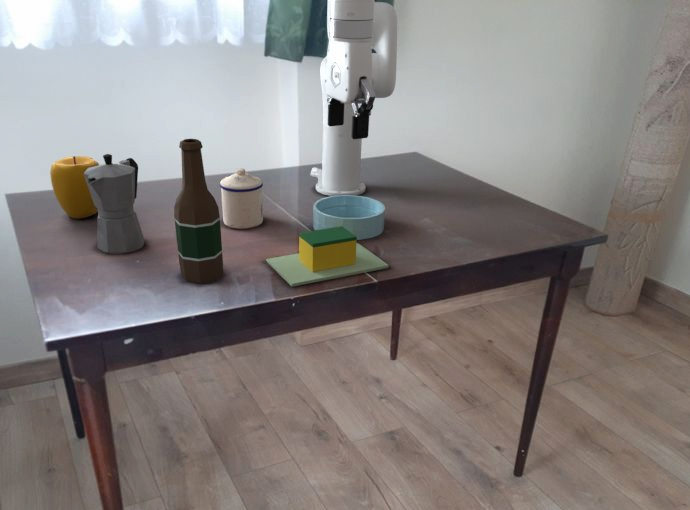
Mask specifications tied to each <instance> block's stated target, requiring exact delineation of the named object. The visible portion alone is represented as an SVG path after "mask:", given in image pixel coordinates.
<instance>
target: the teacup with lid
mask: <svg viewBox="0 0 690 510" xmlns="http://www.w3.org/2000/svg"><path fill="white" fill-rule="evenodd" d="M263 186H264V183H263V181H262V179H261V178H260V177H258V176H254V175H252V174H250V173H247V172H246V169H245V168H242V167H240V168H236V170H235V172H234V173H233V174H231V175H230V176H225V177H224V178H222V179H221V180H220V183H219V187H220V190H221V206H222V220H223V221H222V222H223V224H224V225H225V226H227V227H229V228H232V229H238V230H246V229H249V228H254V227H257V226H259V225H261V224H263V221H264V211H263V210H264V209H263Z"/></svg>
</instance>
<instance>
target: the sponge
mask: <svg viewBox="0 0 690 510" xmlns="http://www.w3.org/2000/svg"><path fill="white" fill-rule="evenodd" d="M357 241H358V240H357V237H356V236H355V235H354V234H352V233H351V232H349V231H348V230H347V229H345V228H344V227H342V226H340V227H333V228H327V229H321V230H309V231H302V232H299V233H298V243H299V244H298V253H299V260H300V261H301V262H302V263H303V264H304V265H305V266H306V267H308V268H309V269H310V270H311V271H312V272H316V271H321V270H326V269H332V268H337V267H342V266H347V265H353V264H355V262H356V243H358V242H357Z"/></svg>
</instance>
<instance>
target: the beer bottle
mask: <svg viewBox="0 0 690 510" xmlns="http://www.w3.org/2000/svg"><path fill="white" fill-rule="evenodd" d="M178 148H180V150H181V152H180V153H181V154H180V155H181V174H182V175H181V176H182V177H181V180H182V181H181V190H180V192H179V193H178V195H177V197H176V199H175V201H174V202H175V203H174V206H173V212H174V213H173V217H174V226H175V235H176V245H177V254H178V263H179V264H178V265H179V270H180V275H181V276H182V277H183V280H185V281H186V282H187V283H192V284H199V285H202V284H203V285H204V284H207V283H213V282H216V281H218V280H219V279H220V278H221V277H222V276H223V274H224V256H223V244H222V243H223V242H222V228H221V216H220V209H219V206H218V203H217V201H216V199H215V197H214V196H213V194H212V193H211V191H210V190H209V189H208V185H207V181H206V175H205V169H204V161H203V154H202V148H204V147H203V144H202V141H201V140H200V139H197V138H185V139H182V140H180V141H179V144H178Z"/></svg>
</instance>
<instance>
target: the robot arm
mask: <svg viewBox="0 0 690 510" xmlns="http://www.w3.org/2000/svg"><path fill="white" fill-rule="evenodd" d="M326 7H327V8H326V9H327V12H326V14H327V16H326V29H327V31H326V32H327V39H328V44H327V50H326V51H327V52H326V56H325V57H323V59H322V61H321V62H320V66H319V79H320V87H321V88H320V89H321V98H322V150H321V151H322V153H321V155H322V157H321V158H322V159H321V168H319V167H315V166H314V167H312V168H311V171H310V173H309V176H310V178H314V179H315V178H317V182H316V183H315V190H316V192H318V193H319V194H322V195H324V196H327V197H330V196H337V195H355V196H360V195H362V194H364V193H365V192H366V188H367V187H366V185H365V183H364V182H362V181H361V163H362V141H363V139H367V138H368V137H369V128H370V116H371V115H372V110H373V108H374V102H375V99H387V98H389V97H390V96H391V95H393V93H394V91H395V87H396V81H397V61H398V60H397V59H398V58H397V57H398V55H397V54H398V17H397V11H396V9H395V8H394V6H393V5H392V4H390V3H388V2H382V1H375V0H327V6H326ZM373 50H374V51H375V52H372V51H373ZM360 104H361V105H360ZM359 105H360V106H359Z"/></svg>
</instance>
